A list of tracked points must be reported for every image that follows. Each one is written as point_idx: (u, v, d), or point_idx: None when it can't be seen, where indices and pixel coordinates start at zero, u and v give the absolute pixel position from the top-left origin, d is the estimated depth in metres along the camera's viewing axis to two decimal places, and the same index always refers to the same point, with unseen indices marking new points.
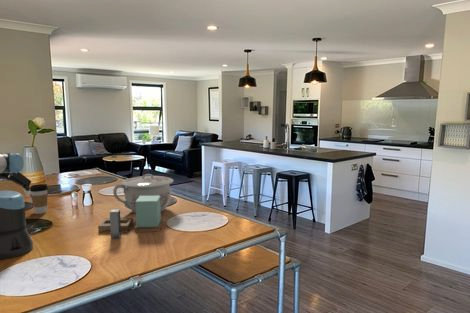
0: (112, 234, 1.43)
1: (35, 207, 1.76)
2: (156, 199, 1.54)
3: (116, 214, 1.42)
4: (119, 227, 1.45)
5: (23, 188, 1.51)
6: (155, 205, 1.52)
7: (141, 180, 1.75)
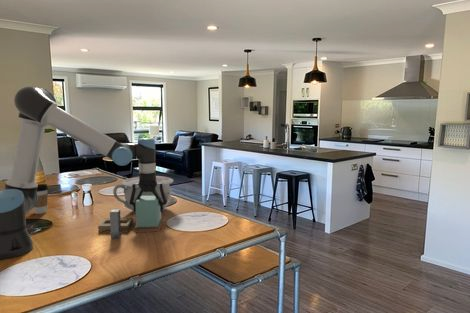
0: (112, 234, 1.43)
1: (35, 207, 1.76)
2: (156, 199, 1.54)
3: (116, 214, 1.42)
4: (119, 227, 1.45)
5: (159, 206, 1.56)
6: (155, 205, 1.52)
7: None
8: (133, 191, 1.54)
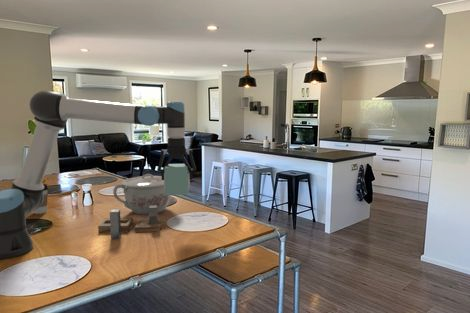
0: (112, 234, 1.43)
1: None
2: (185, 166, 1.47)
3: (116, 214, 1.42)
4: (119, 227, 1.45)
5: (188, 174, 1.49)
6: (185, 172, 1.45)
7: (141, 180, 1.75)
8: (161, 157, 1.47)
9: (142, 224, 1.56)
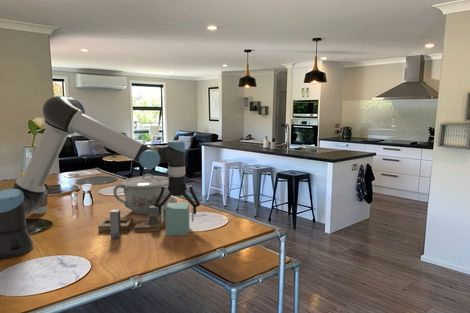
0: (112, 234, 1.43)
1: None
2: (186, 206, 1.50)
3: (116, 214, 1.42)
4: (119, 227, 1.45)
5: (192, 209, 1.51)
6: (185, 213, 1.47)
7: (141, 180, 1.75)
8: (161, 194, 1.49)
9: (142, 224, 1.56)
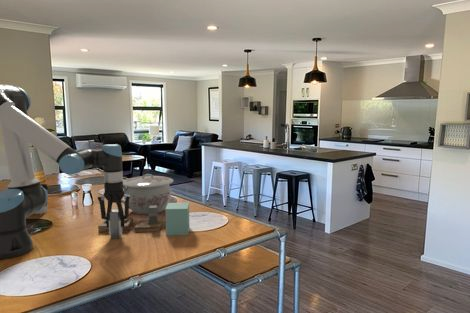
0: (112, 234, 1.43)
1: None
2: (186, 206, 1.50)
3: (116, 214, 1.42)
4: None
5: (119, 221, 1.43)
6: (185, 213, 1.47)
7: (141, 180, 1.75)
8: (101, 204, 1.42)
9: (142, 224, 1.56)
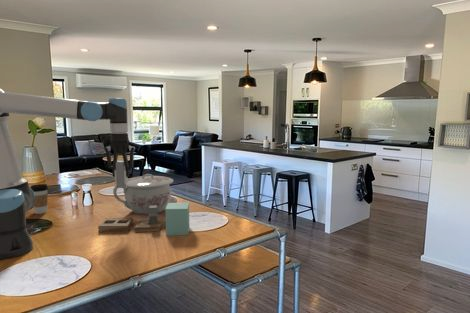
0: (118, 183, 1.52)
1: (35, 207, 1.76)
2: (186, 206, 1.50)
3: (122, 164, 1.51)
4: None
5: (125, 171, 1.52)
6: (185, 213, 1.47)
7: (141, 180, 1.75)
8: (107, 154, 1.51)
9: (142, 224, 1.56)
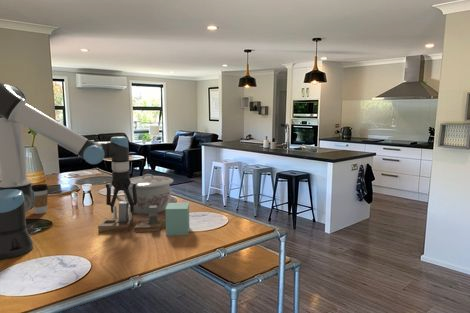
0: None
1: (35, 207, 1.76)
2: (186, 206, 1.50)
3: (124, 205, 1.54)
4: (127, 217, 1.56)
5: (129, 207, 1.55)
6: (185, 213, 1.47)
7: (141, 180, 1.75)
8: (108, 191, 1.53)
9: (142, 224, 1.56)
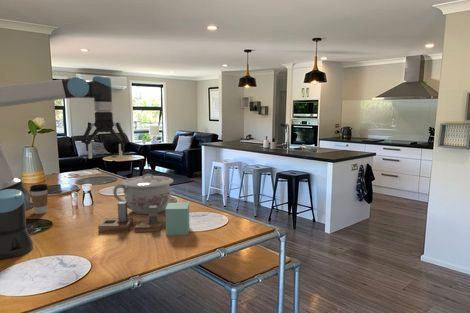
0: None
1: (35, 207, 1.76)
2: (186, 206, 1.50)
3: (123, 205, 1.54)
4: (126, 217, 1.56)
5: (120, 145, 1.52)
6: (185, 213, 1.47)
7: (141, 180, 1.75)
8: (87, 129, 1.50)
9: (142, 224, 1.56)
